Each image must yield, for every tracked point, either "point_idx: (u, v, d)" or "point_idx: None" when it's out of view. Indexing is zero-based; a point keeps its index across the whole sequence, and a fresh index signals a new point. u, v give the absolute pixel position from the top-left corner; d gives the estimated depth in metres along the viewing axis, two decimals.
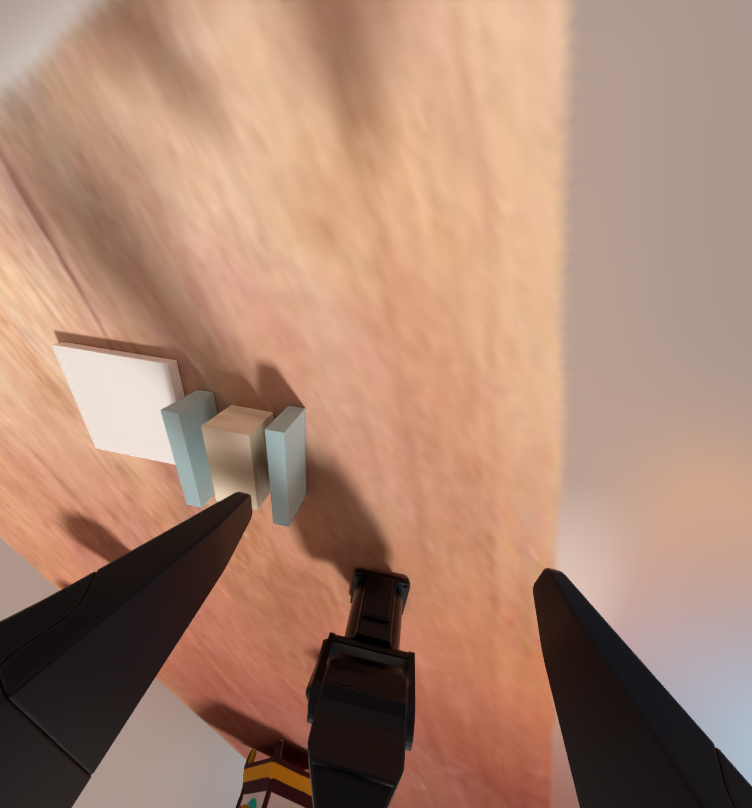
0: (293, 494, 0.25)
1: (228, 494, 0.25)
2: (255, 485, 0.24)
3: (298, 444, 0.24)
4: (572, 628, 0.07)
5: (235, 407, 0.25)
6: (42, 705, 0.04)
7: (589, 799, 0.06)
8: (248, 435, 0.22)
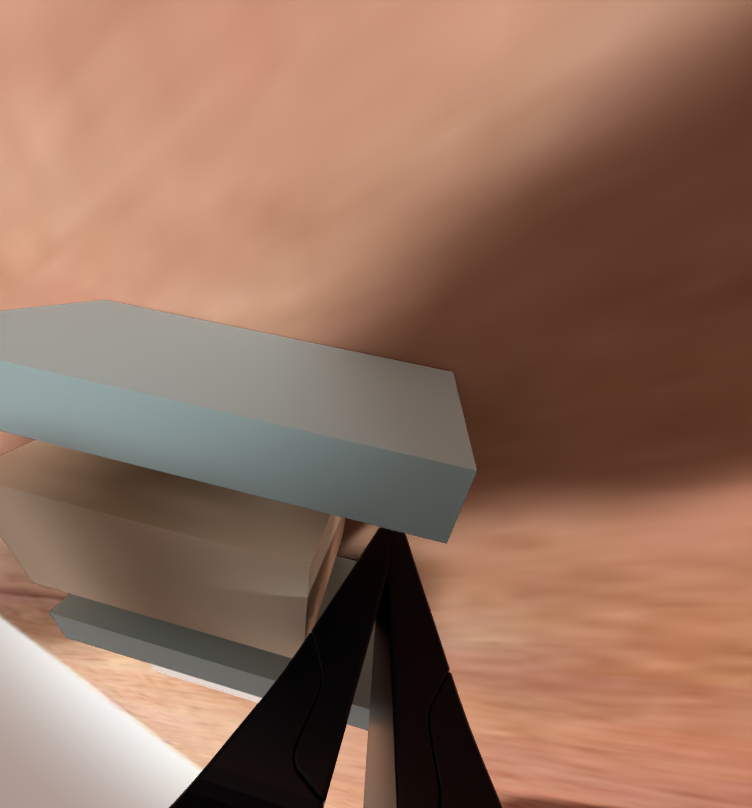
0: (307, 393, 0.05)
1: (259, 622, 0.07)
2: (177, 528, 0.06)
3: (147, 328, 0.07)
4: (385, 579, 0.07)
5: None
6: None
7: (370, 732, 0.06)
8: None
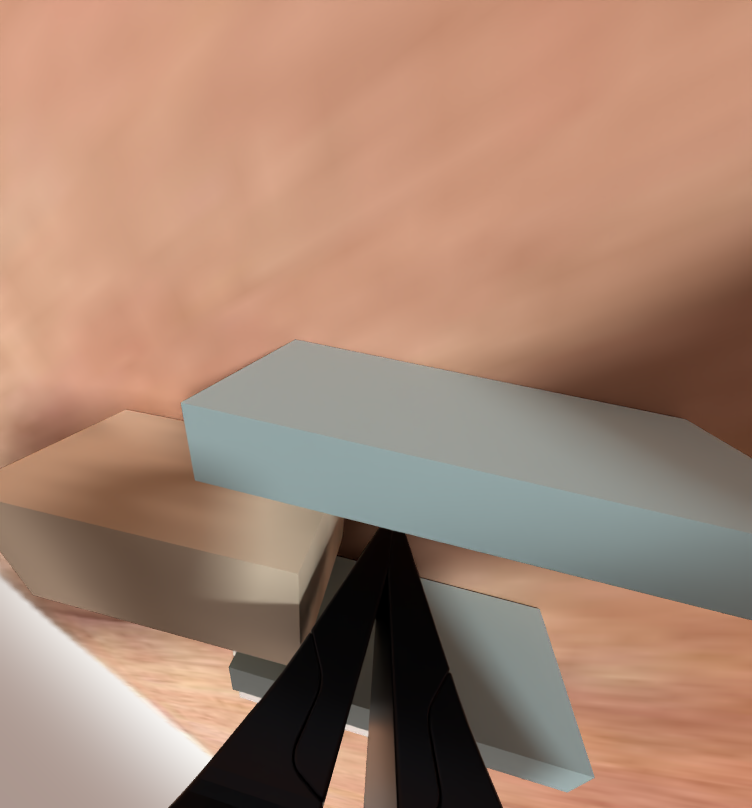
0: (646, 467, 0.05)
1: (254, 630, 0.07)
2: (167, 537, 0.06)
3: (388, 379, 0.06)
4: (385, 579, 0.07)
5: None
6: None
7: (370, 732, 0.06)
8: None
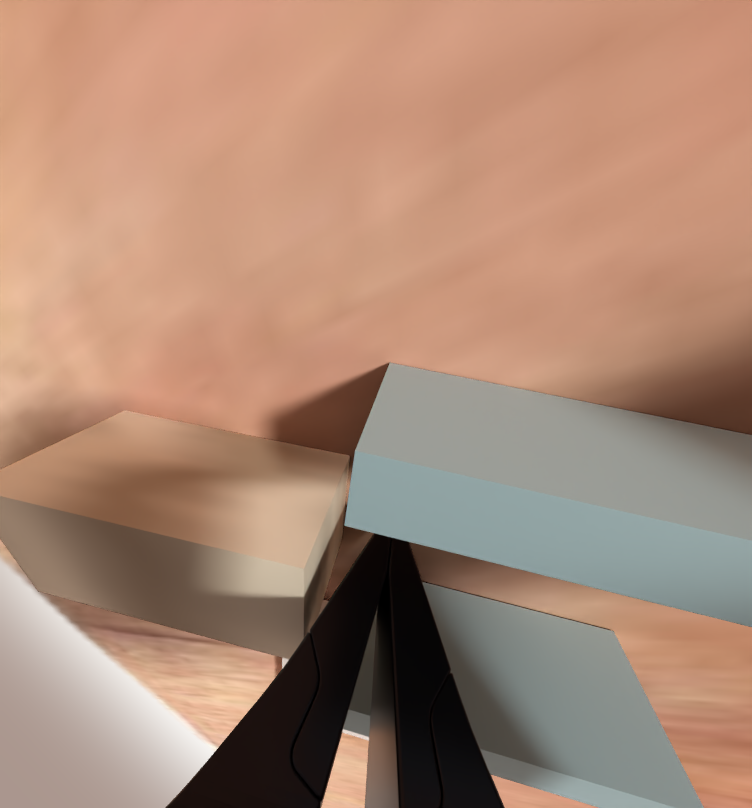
0: None
1: (258, 625, 0.07)
2: (175, 533, 0.06)
3: (511, 410, 0.06)
4: (386, 579, 0.07)
5: None
6: None
7: (371, 732, 0.06)
8: None
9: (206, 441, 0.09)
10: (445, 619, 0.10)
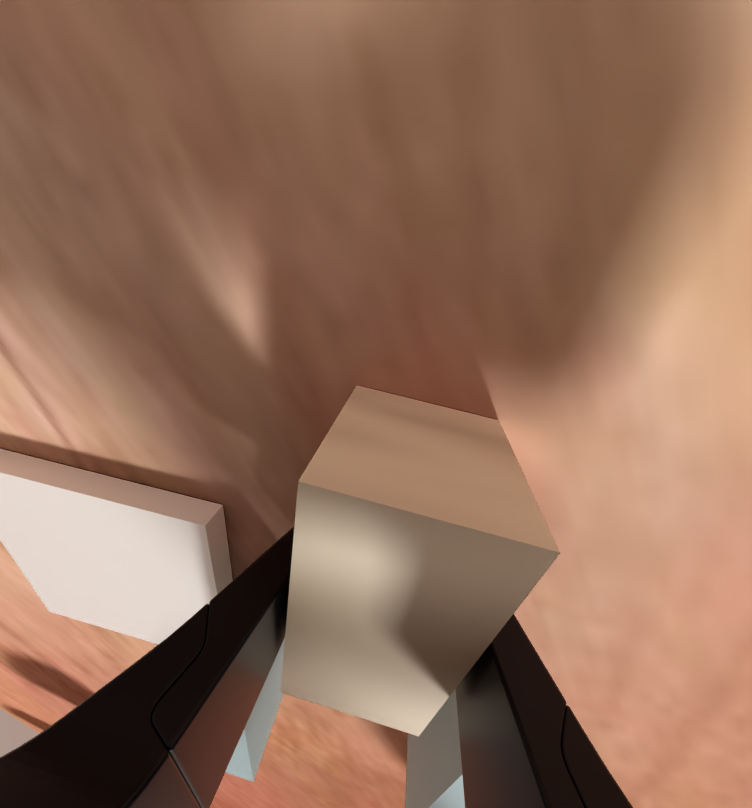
0: None
1: (330, 689, 0.07)
2: (450, 689, 0.07)
3: None
4: None
5: (374, 397, 0.07)
6: (189, 751, 0.04)
7: (467, 762, 0.06)
8: (552, 550, 0.04)
9: None
10: None
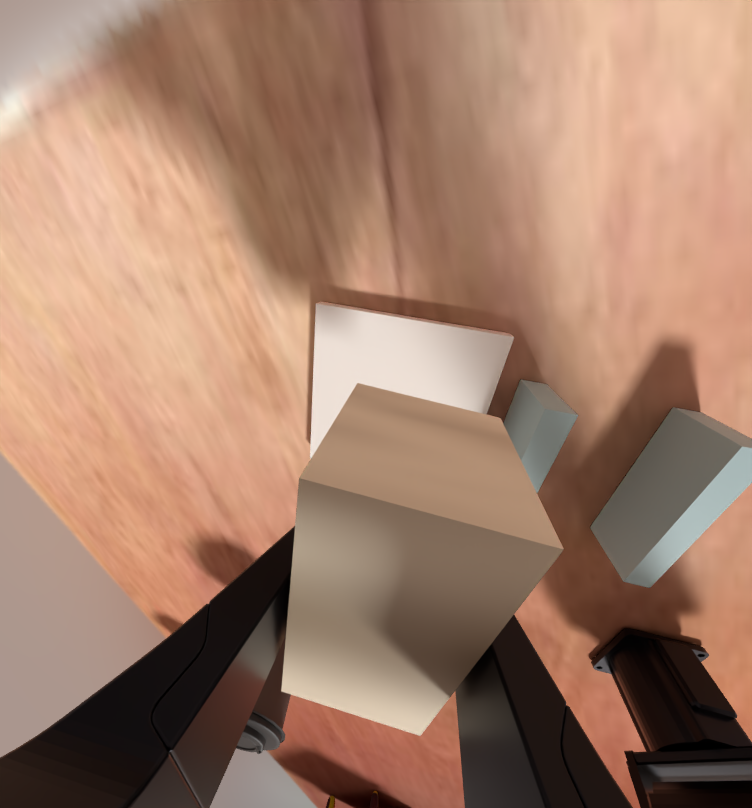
0: None
1: (331, 688, 0.07)
2: (452, 688, 0.06)
3: None
4: None
5: (376, 395, 0.07)
6: (189, 753, 0.04)
7: (467, 762, 0.06)
8: (555, 547, 0.04)
9: None
10: None
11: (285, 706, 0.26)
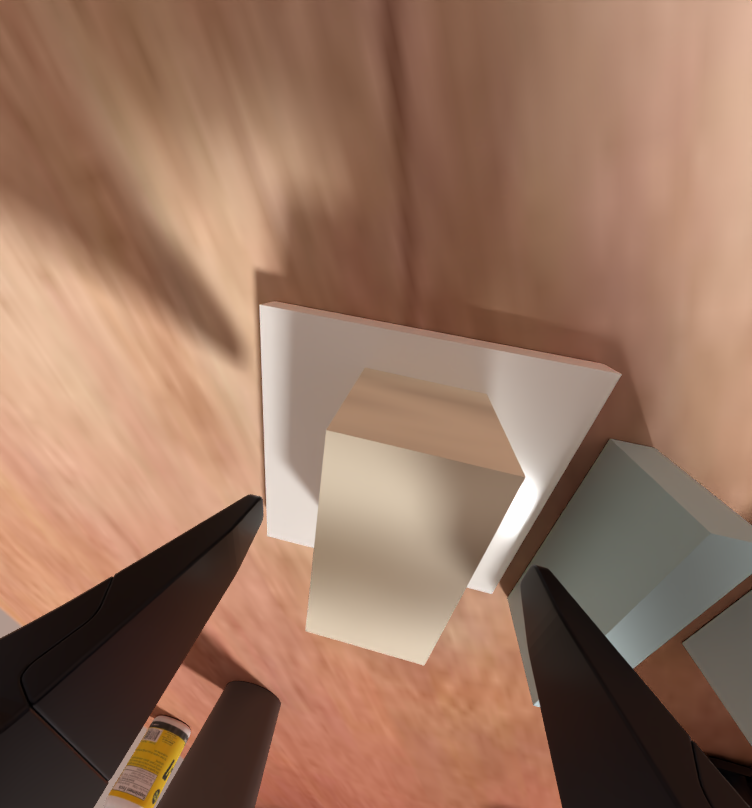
0: None
1: (348, 623, 0.09)
2: (449, 614, 0.08)
3: None
4: (555, 624, 0.07)
5: (380, 376, 0.09)
6: (65, 712, 0.04)
7: (569, 793, 0.06)
8: (520, 476, 0.05)
9: None
10: None
11: None
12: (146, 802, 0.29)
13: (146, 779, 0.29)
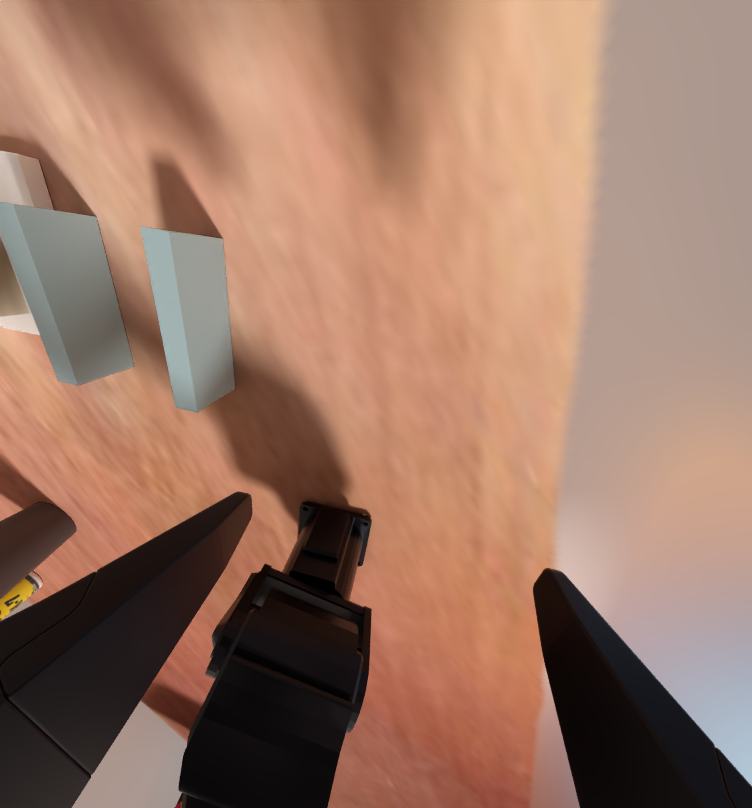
0: (204, 365, 0.18)
1: None
2: None
3: (211, 289, 0.17)
4: (572, 628, 0.07)
5: None
6: (43, 704, 0.04)
7: (589, 799, 0.06)
8: None
9: None
10: (94, 280, 0.18)
11: None
12: None
13: None
